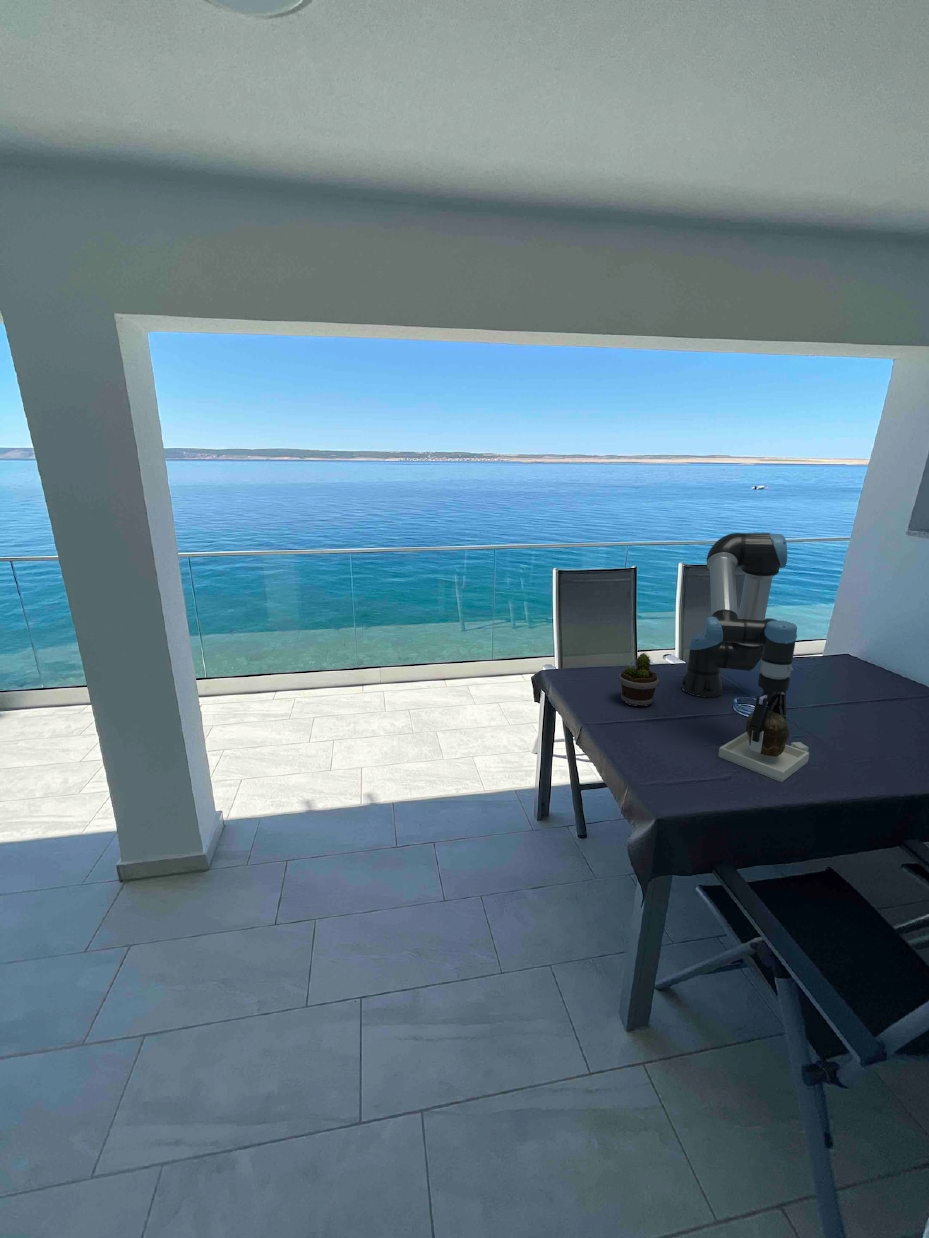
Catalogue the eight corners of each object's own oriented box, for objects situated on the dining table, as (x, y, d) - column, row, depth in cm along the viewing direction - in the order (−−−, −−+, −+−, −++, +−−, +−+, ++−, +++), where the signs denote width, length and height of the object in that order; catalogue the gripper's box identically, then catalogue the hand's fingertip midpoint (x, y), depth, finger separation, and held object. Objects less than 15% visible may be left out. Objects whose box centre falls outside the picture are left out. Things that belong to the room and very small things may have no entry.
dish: (718, 756, 152) (719, 747, 151) (746, 739, 162) (747, 731, 161) (781, 782, 138) (783, 772, 137) (807, 761, 148) (809, 752, 148)
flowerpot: (645, 714, 182) (649, 661, 177) (608, 701, 193) (611, 652, 188) (665, 703, 191) (669, 652, 186) (629, 691, 202) (632, 644, 197)
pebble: (790, 749, 156) (791, 742, 156) (798, 748, 157) (799, 741, 156) (799, 754, 153) (800, 748, 152) (807, 754, 153) (808, 747, 153)
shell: (735, 741, 154) (739, 705, 151) (769, 740, 155) (774, 704, 152) (758, 760, 144) (763, 721, 141) (794, 758, 144) (800, 719, 141)
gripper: (770, 688, 134) (759, 762, 139) (806, 669, 147) (795, 737, 153) (741, 680, 140) (732, 751, 145) (778, 663, 153) (769, 729, 159)
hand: (764, 744), depth 149 cm, fingers closed on shell, 11 cm apart
